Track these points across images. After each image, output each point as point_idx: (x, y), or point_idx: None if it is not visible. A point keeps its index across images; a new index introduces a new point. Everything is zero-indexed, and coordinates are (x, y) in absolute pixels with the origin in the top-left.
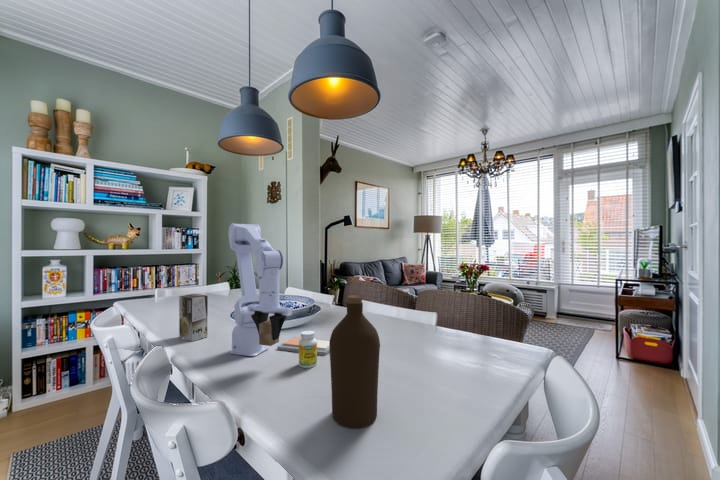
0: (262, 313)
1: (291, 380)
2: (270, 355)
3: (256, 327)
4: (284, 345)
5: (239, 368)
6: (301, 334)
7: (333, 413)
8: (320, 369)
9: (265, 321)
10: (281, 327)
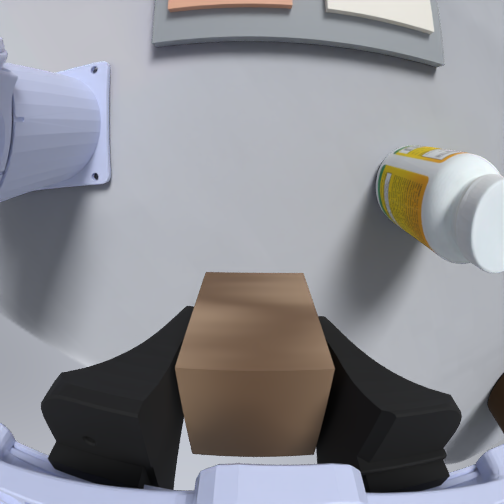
0: (153, 483)
1: (393, 327)
2: (170, 128)
3: (10, 161)
4: (181, 15)
5: (146, 302)
6: (474, 261)
7: (492, 414)
8: None
9: (188, 401)
10: (364, 358)
